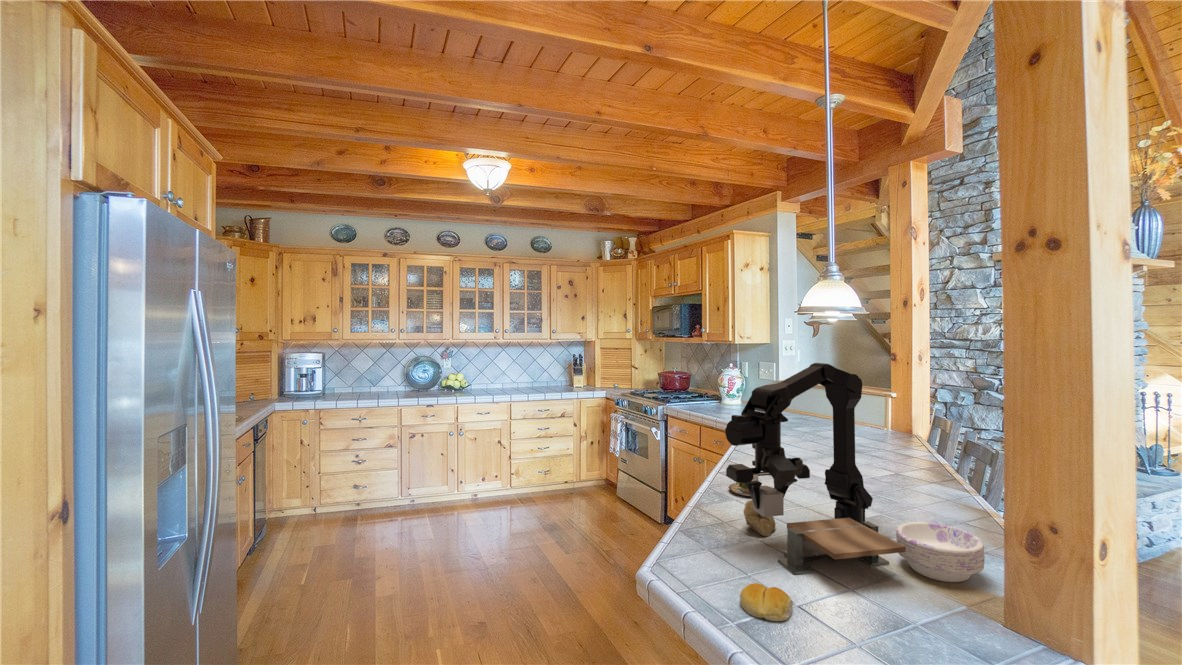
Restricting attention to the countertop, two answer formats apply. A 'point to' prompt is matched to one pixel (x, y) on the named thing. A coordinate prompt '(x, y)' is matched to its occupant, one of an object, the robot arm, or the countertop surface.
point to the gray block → (770, 502)
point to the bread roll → (766, 602)
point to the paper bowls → (941, 551)
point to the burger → (740, 489)
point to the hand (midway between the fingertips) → (767, 507)
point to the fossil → (758, 520)
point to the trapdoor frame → (795, 555)
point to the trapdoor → (843, 539)
